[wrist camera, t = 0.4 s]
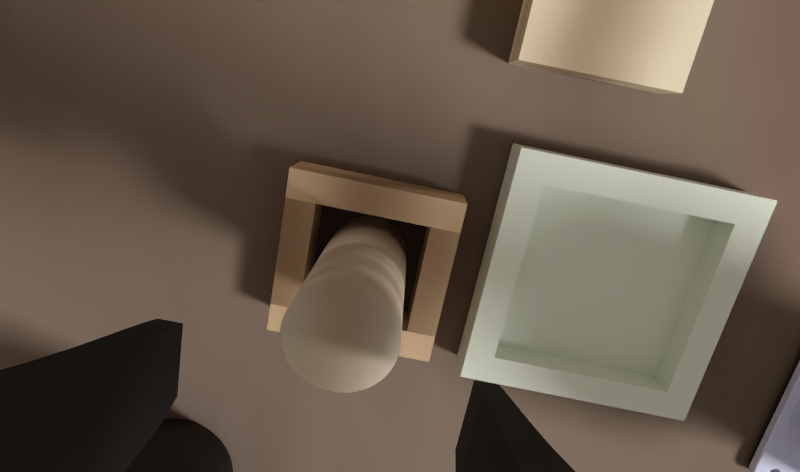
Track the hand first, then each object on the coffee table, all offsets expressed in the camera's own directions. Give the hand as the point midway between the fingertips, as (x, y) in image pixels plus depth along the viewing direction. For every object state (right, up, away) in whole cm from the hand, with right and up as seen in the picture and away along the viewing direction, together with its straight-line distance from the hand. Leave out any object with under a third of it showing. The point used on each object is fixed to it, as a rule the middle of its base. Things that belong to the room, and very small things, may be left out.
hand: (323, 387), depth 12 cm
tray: (+10, +2, +10) cm, 14 cm away
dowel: (0, +3, +10) cm, 10 cm away
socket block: (0, +3, +10) cm, 10 cm away
